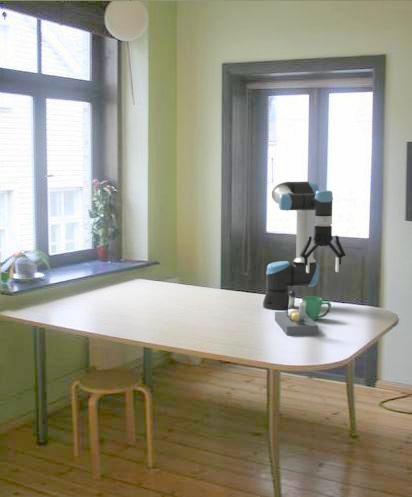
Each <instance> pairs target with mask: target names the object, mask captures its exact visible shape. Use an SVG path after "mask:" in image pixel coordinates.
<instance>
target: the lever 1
mask: <svg viewBox="0 0 412 497" xmlns="http://www.w3.org/2000/svg"><path fill="white" fill-rule="evenodd" d="M296 294H297V293H296V292H295V291H294V290H291V291H289V305H288V309H287V311H288V310H289V309H295V299H296Z"/></svg>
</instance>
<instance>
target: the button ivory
mask: <svg viewBox="0 0 412 497" xmlns="http://www.w3.org/2000/svg"><path fill="white" fill-rule="evenodd" d="M287 311H288V318H292V313H299V308H294V309H289V310H288V309H287Z"/></svg>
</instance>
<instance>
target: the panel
mask: <svg viewBox="0 0 412 497" xmlns="http://www.w3.org/2000/svg"><path fill="white" fill-rule="evenodd" d="M274 321H275V322H276V324H277V325H278V326H279V327H280V328H281V330H282V331H283V332H284V334H285V335H286V336H309V335H311V336H312V335H313V336H315V335H316V334H317V335H319V325H318V324H317V323H316V322H315V320H312V319H311V318H310V317H309V316H308V315H307V314H306V313H305V314H304V322H300V323H298V322H292V318H288V310H287V311H275V312H274Z"/></svg>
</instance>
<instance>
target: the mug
mask: <svg viewBox="0 0 412 497" xmlns="http://www.w3.org/2000/svg"><path fill="white" fill-rule="evenodd" d="M302 300H304V301H305V302H306V306H305V313H306V314H307V315H308V316H309V317H310V318H311V319H312V320H313V321H316V320H318V319H321V318H324V317H325V316H327V315H328V314H329V313H330V312H331V309H332V308H331V307H332V303H331V302H330V301H327V300H325V301H323V298H322V297H320V296H319V297H318V296H304V297H301V301H302ZM322 305H327V306H328V307H327V310H326V311H325V312H324V314H321V315H320V313H321V309H322Z"/></svg>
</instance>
